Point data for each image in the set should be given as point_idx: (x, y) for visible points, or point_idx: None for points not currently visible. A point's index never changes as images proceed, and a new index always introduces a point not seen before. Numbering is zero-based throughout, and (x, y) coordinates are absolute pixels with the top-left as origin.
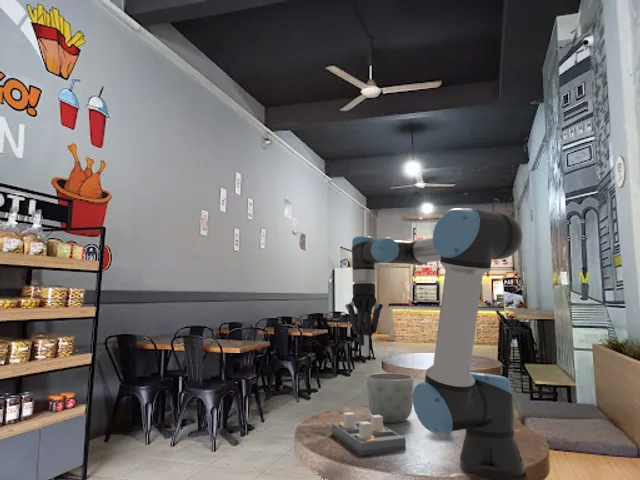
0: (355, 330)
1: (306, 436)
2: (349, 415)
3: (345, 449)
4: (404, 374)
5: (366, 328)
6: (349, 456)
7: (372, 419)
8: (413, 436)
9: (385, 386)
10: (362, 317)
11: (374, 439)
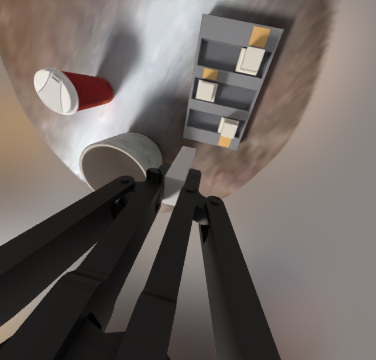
0: (225, 210)
1: (266, 153)
2: (233, 124)
3: (271, 77)
4: (86, 179)
5: (154, 210)
6: (294, 40)
7: (212, 93)
8: (155, 77)
9: (140, 155)
10: (169, 264)
11: (254, 31)
